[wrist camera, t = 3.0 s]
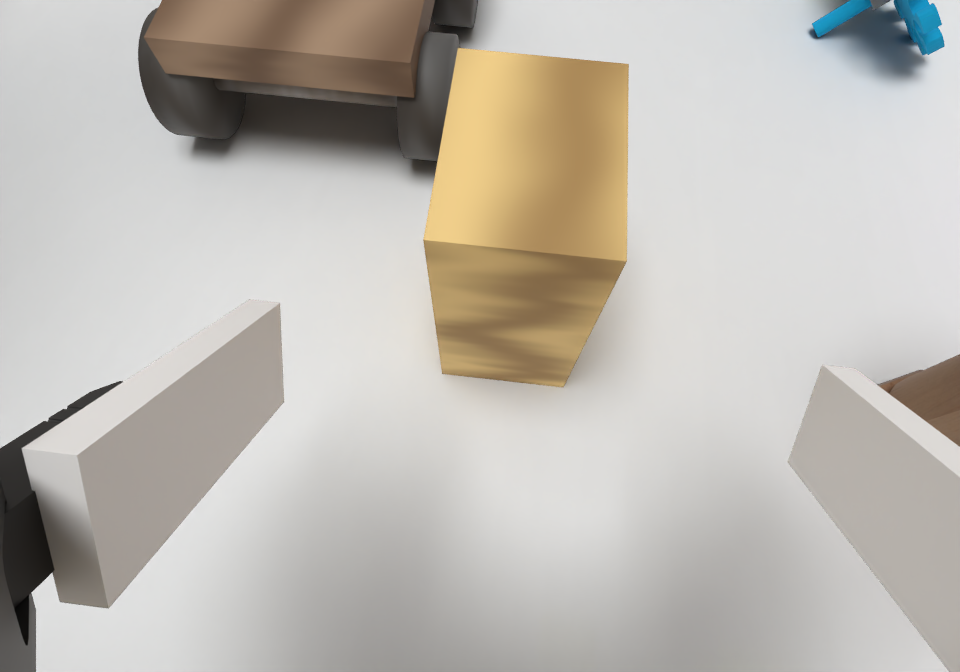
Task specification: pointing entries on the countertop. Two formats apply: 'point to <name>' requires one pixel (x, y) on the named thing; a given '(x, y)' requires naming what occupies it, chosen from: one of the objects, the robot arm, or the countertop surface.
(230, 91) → the trolley
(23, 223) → the countertop surface
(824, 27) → the gear
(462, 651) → the countertop surface
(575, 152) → the block
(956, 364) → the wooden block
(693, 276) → the countertop surface
